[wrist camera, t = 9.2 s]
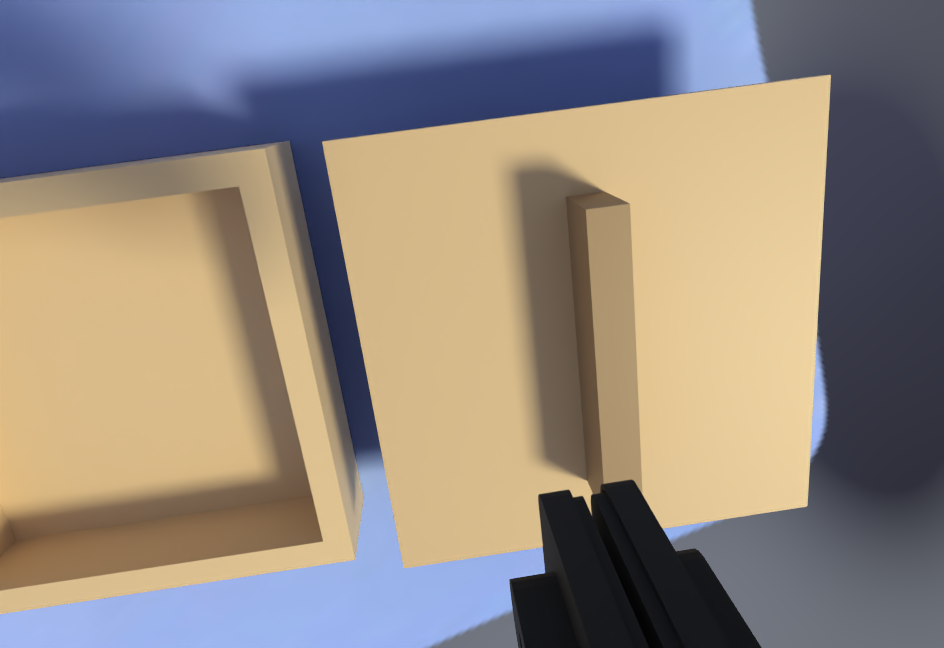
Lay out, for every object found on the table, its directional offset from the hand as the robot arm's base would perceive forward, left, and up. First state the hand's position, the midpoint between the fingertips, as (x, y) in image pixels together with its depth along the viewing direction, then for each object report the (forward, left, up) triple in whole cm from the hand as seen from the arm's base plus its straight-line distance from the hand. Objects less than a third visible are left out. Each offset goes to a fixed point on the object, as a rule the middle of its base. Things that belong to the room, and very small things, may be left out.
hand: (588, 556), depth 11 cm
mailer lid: (0, +3, -11) cm, 11 cm away
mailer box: (0, -14, -15) cm, 21 cm away
